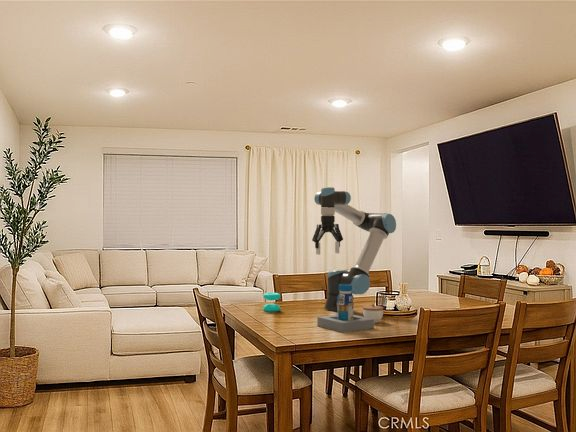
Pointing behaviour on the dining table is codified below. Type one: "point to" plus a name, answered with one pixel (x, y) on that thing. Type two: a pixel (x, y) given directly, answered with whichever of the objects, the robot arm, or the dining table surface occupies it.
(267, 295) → the donuts
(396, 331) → the dining table surface
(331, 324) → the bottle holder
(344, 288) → the beverage bottle
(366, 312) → the lidded jar
